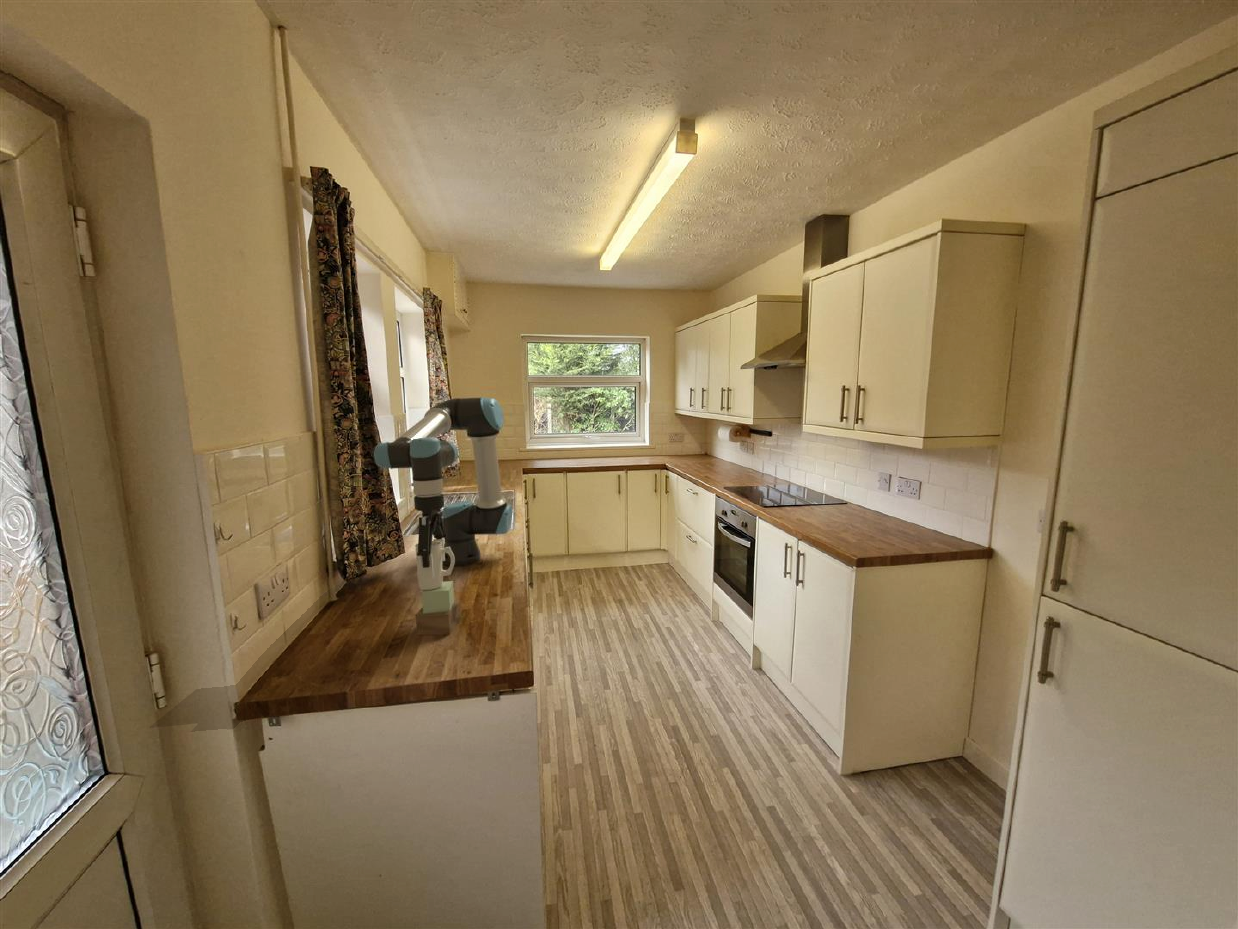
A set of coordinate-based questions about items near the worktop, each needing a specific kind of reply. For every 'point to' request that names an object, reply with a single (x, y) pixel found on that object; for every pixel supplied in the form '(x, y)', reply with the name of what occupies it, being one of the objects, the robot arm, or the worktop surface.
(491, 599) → the worktop surface
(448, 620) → the base brick
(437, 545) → the mug
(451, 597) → the sage brick
